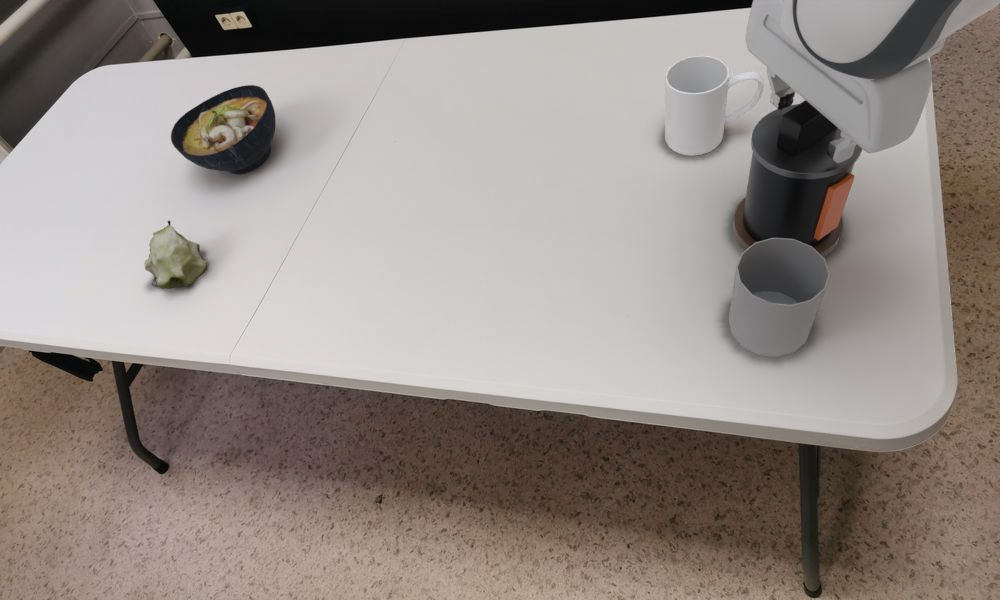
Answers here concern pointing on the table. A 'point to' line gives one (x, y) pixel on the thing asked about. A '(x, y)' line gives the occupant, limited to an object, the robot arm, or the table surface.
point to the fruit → (173, 259)
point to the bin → (796, 177)
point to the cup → (776, 296)
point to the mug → (700, 103)
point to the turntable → (748, 241)
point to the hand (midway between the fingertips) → (808, 129)
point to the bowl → (228, 131)
